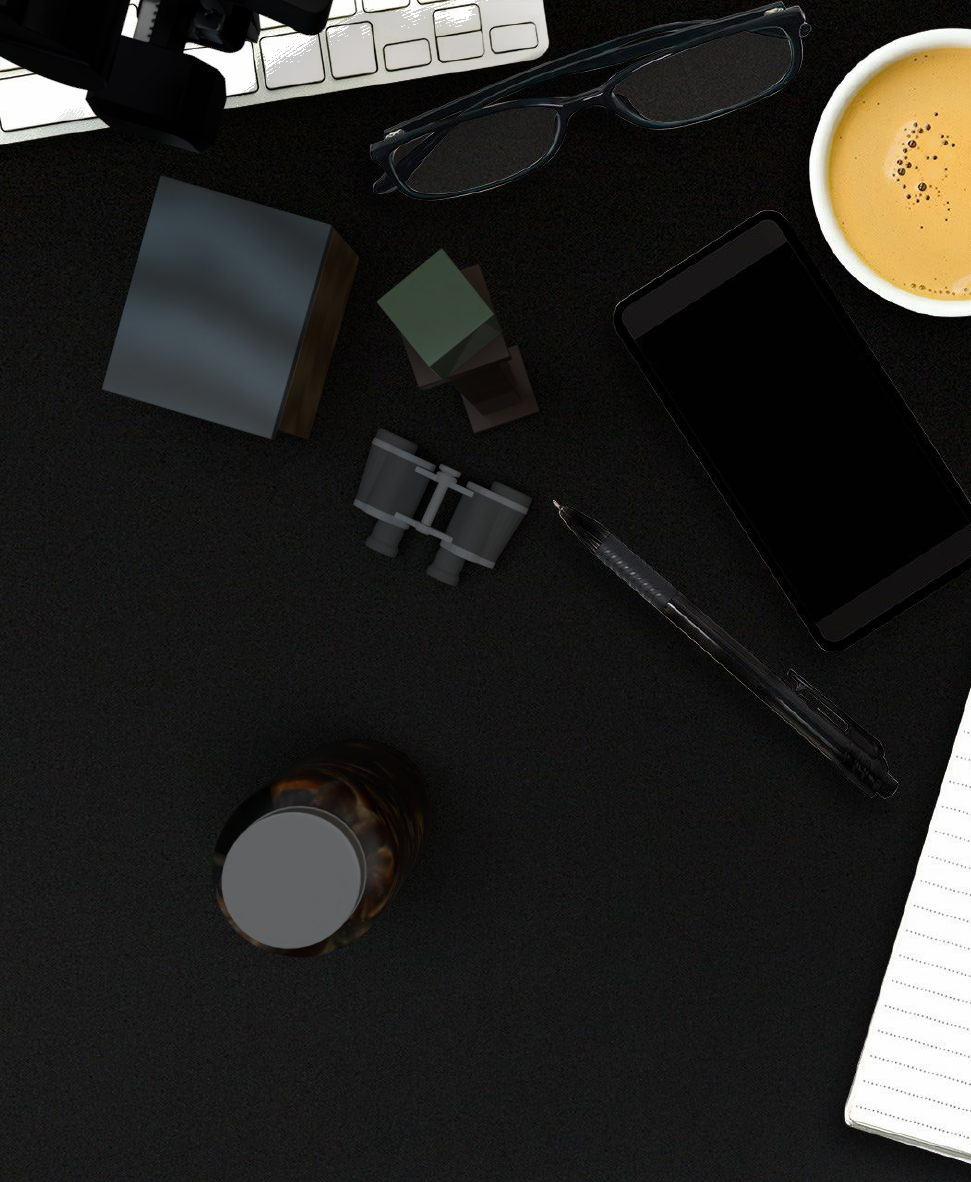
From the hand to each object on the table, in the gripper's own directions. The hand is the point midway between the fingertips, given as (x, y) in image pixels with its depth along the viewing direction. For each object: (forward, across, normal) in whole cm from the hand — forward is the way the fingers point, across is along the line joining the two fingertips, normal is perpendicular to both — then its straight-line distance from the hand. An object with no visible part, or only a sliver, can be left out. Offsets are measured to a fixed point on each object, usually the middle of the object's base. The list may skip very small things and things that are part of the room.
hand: (251, 35), depth 63 cm
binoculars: (+13, -24, -16) cm, 32 cm away
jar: (+13, -47, -16) cm, 52 cm away
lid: (+6, -15, 0) cm, 17 cm away
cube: (-9, -15, -18) cm, 25 cm away
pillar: (+13, -15, -18) cm, 27 cm away
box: (+13, -15, 0) cm, 20 cm away
